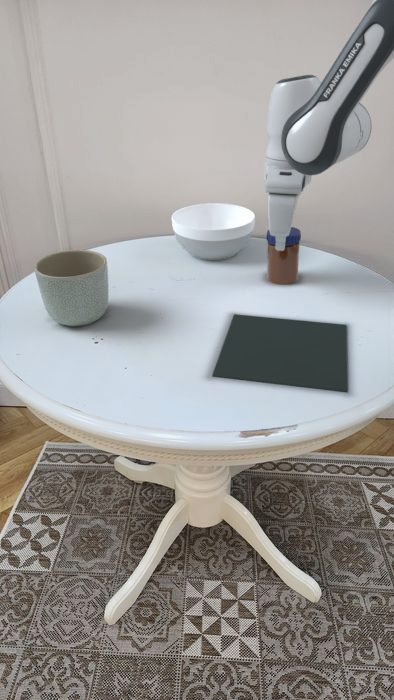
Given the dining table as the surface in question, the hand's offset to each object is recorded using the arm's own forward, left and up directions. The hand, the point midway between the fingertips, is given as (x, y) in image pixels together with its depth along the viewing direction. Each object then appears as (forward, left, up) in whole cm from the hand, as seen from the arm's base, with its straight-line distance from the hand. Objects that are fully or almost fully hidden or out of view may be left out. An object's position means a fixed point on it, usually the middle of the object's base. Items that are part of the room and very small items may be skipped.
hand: (282, 242), depth 107 cm
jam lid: (0, 0, +2) cm, 2 cm away
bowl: (+17, -12, -8) cm, 22 cm away
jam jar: (-1, 0, -8) cm, 8 cm away
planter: (+35, +24, -8) cm, 43 cm away
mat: (-3, +28, -8) cm, 29 cm away
